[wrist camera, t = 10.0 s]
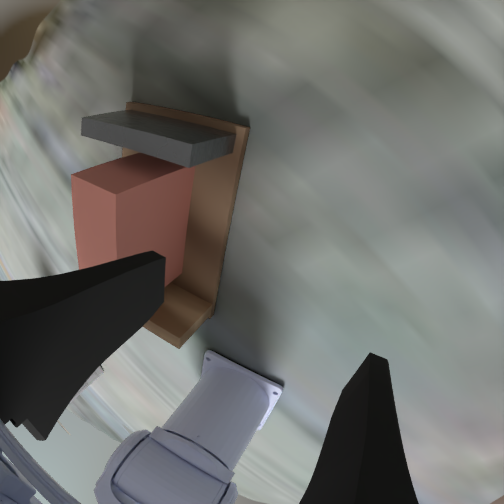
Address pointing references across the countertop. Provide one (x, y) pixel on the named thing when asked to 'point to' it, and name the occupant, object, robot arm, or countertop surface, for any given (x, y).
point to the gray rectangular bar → (160, 136)
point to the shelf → (199, 233)
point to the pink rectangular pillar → (132, 211)
